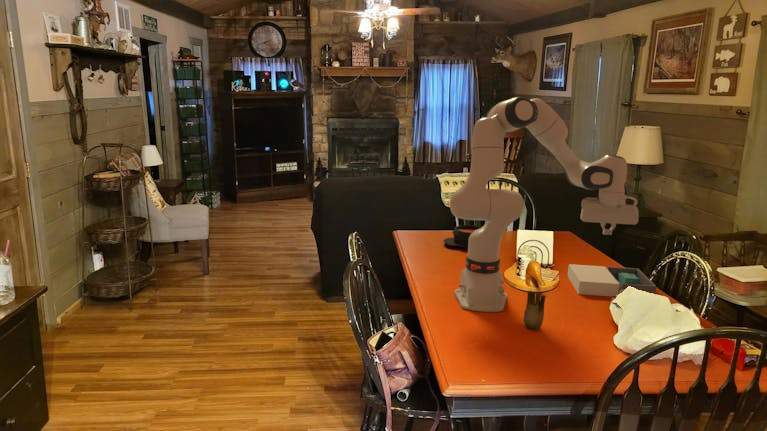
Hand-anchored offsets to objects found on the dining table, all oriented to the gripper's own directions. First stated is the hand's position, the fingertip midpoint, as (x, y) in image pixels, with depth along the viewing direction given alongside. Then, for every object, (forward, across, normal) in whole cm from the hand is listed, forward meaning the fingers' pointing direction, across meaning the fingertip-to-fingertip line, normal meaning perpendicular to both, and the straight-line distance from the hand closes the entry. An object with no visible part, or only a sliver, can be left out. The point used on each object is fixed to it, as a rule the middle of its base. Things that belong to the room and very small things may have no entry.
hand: (607, 234), depth 206 cm
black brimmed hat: (+19, -52, +42) cm, 69 cm away
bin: (+20, +10, -1) cm, 23 cm away
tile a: (+17, +6, -6) cm, 19 cm away
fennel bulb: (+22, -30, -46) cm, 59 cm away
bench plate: (+20, -4, -1) cm, 21 cm away
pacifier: (+21, +3, -18) cm, 28 cm away
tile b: (+17, +10, +4) cm, 20 cm away
